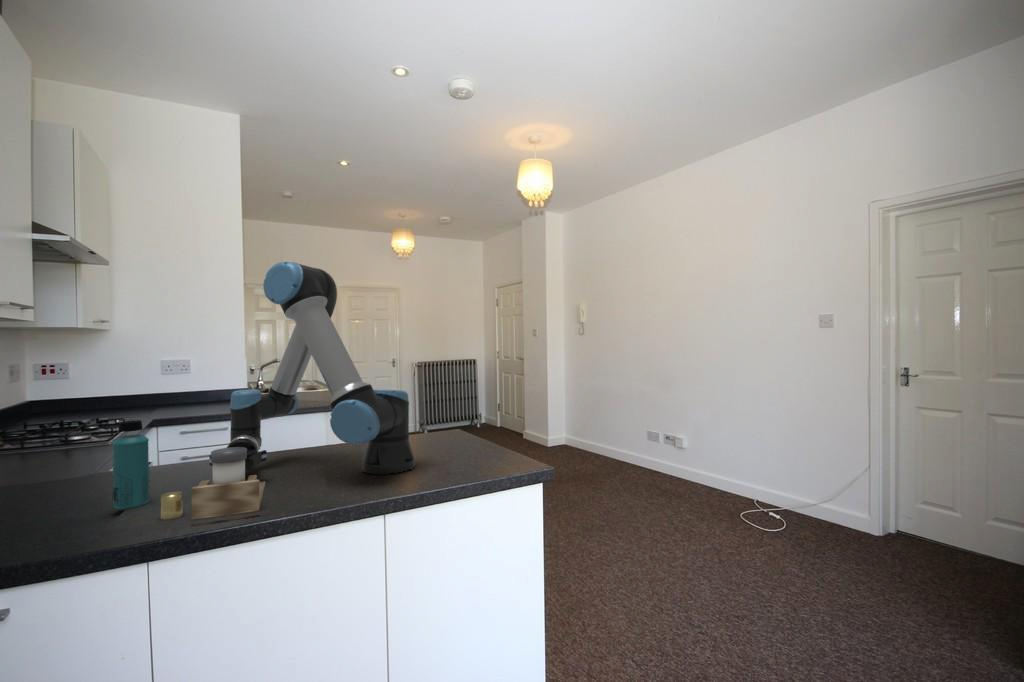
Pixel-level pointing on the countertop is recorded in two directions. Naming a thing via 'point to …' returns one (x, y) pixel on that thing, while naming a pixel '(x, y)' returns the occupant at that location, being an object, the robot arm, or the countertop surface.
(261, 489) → the mount
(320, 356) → the robot arm
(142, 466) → the beverage bottle
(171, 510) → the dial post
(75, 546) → the countertop surface
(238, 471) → the grey-lidded white jar
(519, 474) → the countertop surface
